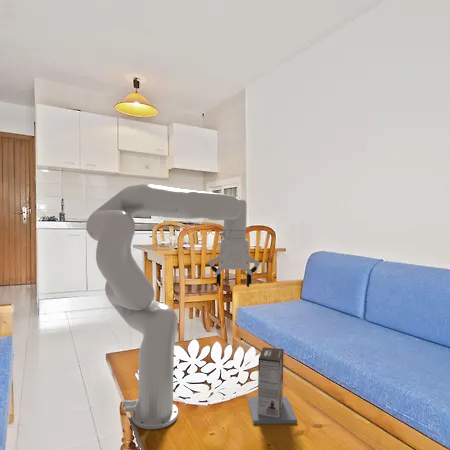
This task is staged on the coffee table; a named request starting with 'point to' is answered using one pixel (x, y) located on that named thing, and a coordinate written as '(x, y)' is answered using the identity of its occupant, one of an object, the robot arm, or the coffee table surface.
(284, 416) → the slate tile
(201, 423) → the coffee table surface
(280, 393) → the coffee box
